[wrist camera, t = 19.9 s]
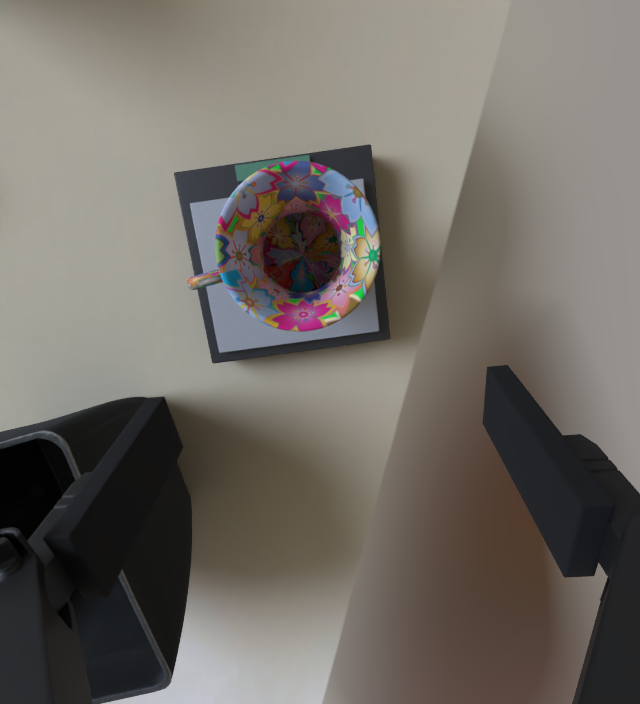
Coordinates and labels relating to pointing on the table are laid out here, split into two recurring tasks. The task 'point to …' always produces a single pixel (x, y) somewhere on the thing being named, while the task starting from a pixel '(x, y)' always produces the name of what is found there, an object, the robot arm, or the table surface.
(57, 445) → the flower pot
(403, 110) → the table surface
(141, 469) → the robot arm
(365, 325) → the scale
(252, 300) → the mug
